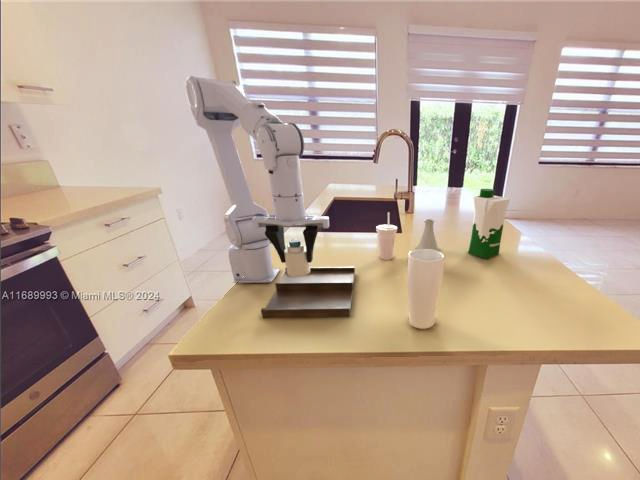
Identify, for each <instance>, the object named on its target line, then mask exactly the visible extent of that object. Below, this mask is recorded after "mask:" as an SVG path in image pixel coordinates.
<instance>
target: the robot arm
mask: <svg viewBox="0 0 640 480" xmlns="http://www.w3.org/2000/svg"><path fill="white" fill-rule="evenodd" d="M185 94H186V99H187V103H188V105H189V108H190V111H191V113H192V117H193V119H194V120H195V124H196V126H198V127H200V128H201V129H203V130H205V132H206V134H207V137H208V140H209V142H210V145H211V147H212V150H213V153H214V156H215V160H216V162H217V164H218V168H219V172H220V174H221V177H222V180H223V183H224V186H225V189H226V192H227V195H228V198H229V201H230V204H231V207H230V208H229V210H228V211H227V212H226V213H225V214H224V216H223V223H224V225H225V232H226V236H227V239H228V241H229V242H230V244H231V245H230V247H229V249H228V260H229V264H230V269H231V272H232V277H233V283H234V284H256V283H257V284H261V283H262V284H263V283H264V284H265V283H266V284H267V283H268V284H270V283H272V282H273V281H274V279H275V278H276V276H277V275H278V274H279V272H280V269H279V268H274V264H273V263H274V262H273V258H272V251H271V246H270V245H271V244H272V246H273V247H274V249H275V251H276V252H277V255H278V257H279V259H280V262H281V263H283V264H284V263H285V264H286V262H285V256H284V250H285V249H287V247H286V243H285V242H286V241H285V228H304V230H303V231H302V235H303V239H304V243H305V248H306V251H307V261H308V262H309V263H312V262H313V259H314V247H315V242H316V239H317V236H318V233H319V230H320V228H322V229H329V227H330V217H329V216H321V215H312V214H306V204H305V197H304V196H305V195H304V188H303V187H304V186H303V179H302V171H301V163H300V158H301V157H302V156H303V154H304V152H305V139H304V135H303V132H302V131H301V129H300V128H299V126H298V125H297V124H296V123H295V122H288V123H284V122H283V121H282V120H281V119H280V118H279V117H278V116H277V115H276V114H274V113H272V112H271V111H270V110H268V109H267V108H266V104H265V103H263V102H262V101H256V100H255V101H250V100H249V99H248V97H246V96H245V92H244V89H243V86H242V85H241V84H240V83H239V82H237V81H236V80H223V79H213V78H206V77H198V76H197V77H196V76H195V75H188V76H187V78H186V79H185ZM240 126H241V128H242V129H243V130H244V131H245V133H247V134H248V135H249V136H250V137H251V138H252V139H253V140H254V141H256V145H257V149H258V151H259V153H260V155H261V157H262V161H263V166H264V168H265V170H267V171H268V179H269V185H270V191H271V197H272V204H273V209H274V214H272V215H269V213H268V210H267V209H266V208H264V207H262V206H260V205H259V204H257V203H255V202H254V201H255V200H254V198H253V195H252V192H251V189H250V186H249V182H248V179H247V176H246V174H245V173H246V172H245V170H244V167H243V164H242V161H241V158H240V154H239V152H238V151H239V150H238V149H237V145H236V142H235V139H234V136H233V131H234V130H236V129H238V128H239V127H240ZM243 276H244V277H243ZM242 277H243V278H242ZM237 282H238V283H237Z"/></svg>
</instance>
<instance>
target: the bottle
mask: <svg viewBox="0 0 640 480" xmlns="http://www.w3.org/2000/svg"><path fill="white" fill-rule="evenodd" d="M288 243H289V244H288V245H287V246H286V249H285V250H284V256H285V268H287V274H288V275H290V276H294V277H298V276H304V275H307V274H309V273H310V267H311V263H310V262H308V261H307V251H306V246H304V244H303V243H301V239H298V238H297V239H296V238H295V239H290V240H289V241H288Z"/></svg>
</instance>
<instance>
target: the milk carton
mask: <svg viewBox="0 0 640 480" xmlns="http://www.w3.org/2000/svg"><path fill="white" fill-rule="evenodd" d="M494 193H495V190H494V189H492V188H480V190H479V195H477V196H473V207H474V212H473V213H474V214H473V220H472V227H471V228H472V229H471V236H470V243H469V247H468V251H467V254H470V255H473V256H476V257H478V258H481V259H484V260H488V259H490V258H493V257H496V256H499V255H500V249H501V242H502V235H503V230H504V224H505V218H506V214H507V210H508V206H509V204H510V198H508V197H504V196H500V195H499V196H498V195H494Z"/></svg>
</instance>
